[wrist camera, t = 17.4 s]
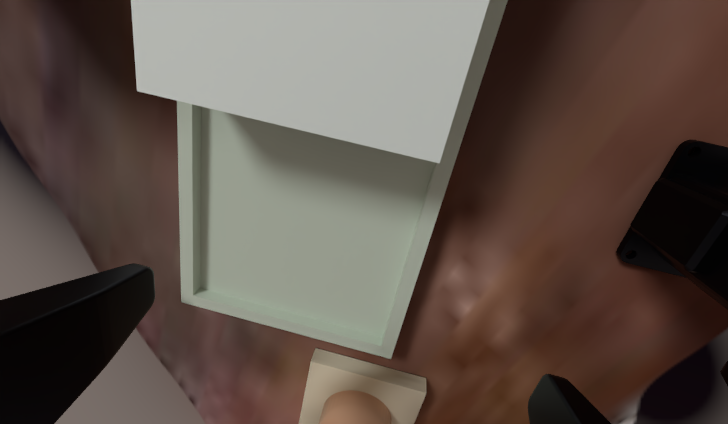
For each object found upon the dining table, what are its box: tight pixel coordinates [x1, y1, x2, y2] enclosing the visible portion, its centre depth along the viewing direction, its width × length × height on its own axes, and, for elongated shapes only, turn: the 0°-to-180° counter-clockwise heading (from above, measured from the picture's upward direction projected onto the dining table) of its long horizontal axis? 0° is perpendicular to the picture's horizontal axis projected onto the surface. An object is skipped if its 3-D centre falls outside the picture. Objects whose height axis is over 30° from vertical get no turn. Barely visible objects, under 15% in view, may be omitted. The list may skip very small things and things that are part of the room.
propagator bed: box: [177, 0, 508, 359], centre depth 17 cm, size 14×29×2 cm, turn 168°
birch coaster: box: [299, 348, 427, 424], centre depth 25 cm, size 8×8×1 cm
